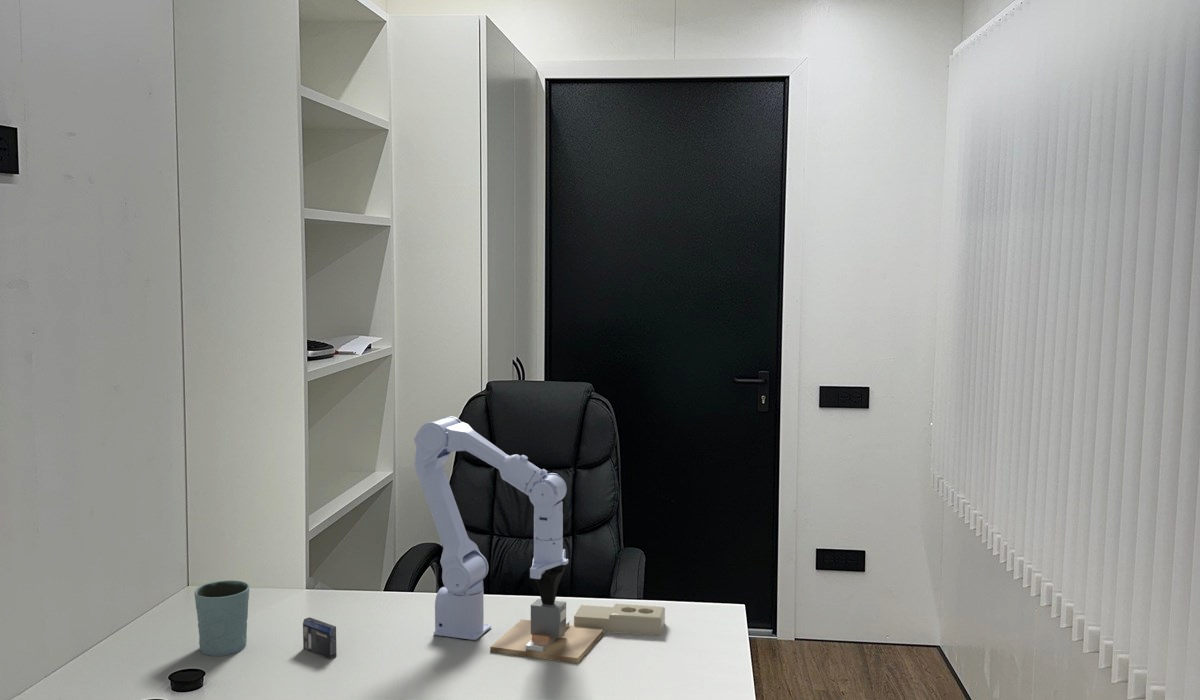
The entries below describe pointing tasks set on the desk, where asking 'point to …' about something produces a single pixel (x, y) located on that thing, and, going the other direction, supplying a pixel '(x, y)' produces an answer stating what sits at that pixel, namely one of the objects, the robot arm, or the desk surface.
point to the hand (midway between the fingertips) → (548, 603)
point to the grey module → (548, 618)
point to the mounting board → (562, 649)
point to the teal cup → (222, 617)
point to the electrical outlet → (622, 618)
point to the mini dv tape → (319, 637)
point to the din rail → (541, 641)
